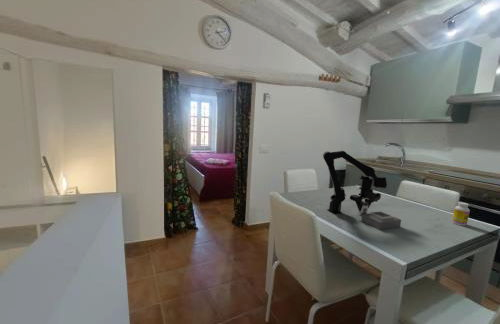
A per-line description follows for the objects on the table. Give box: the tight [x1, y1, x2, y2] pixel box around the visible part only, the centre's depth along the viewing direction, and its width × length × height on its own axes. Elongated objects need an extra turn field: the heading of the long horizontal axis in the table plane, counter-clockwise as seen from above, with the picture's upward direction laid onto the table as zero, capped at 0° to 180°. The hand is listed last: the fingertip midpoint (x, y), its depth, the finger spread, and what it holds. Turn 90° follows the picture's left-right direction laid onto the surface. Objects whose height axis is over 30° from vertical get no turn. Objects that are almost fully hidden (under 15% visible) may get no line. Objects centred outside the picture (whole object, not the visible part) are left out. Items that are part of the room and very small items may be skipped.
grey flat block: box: [361, 211, 402, 230], centre depth 131 cm, size 16×12×6 cm
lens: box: [357, 200, 369, 215], centre depth 143 cm, size 5×5×7 cm
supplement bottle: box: [451, 201, 471, 227], centre depth 137 cm, size 7×7×13 cm
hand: (363, 210), depth 143 cm, fingers closed on lens, 5 cm apart
